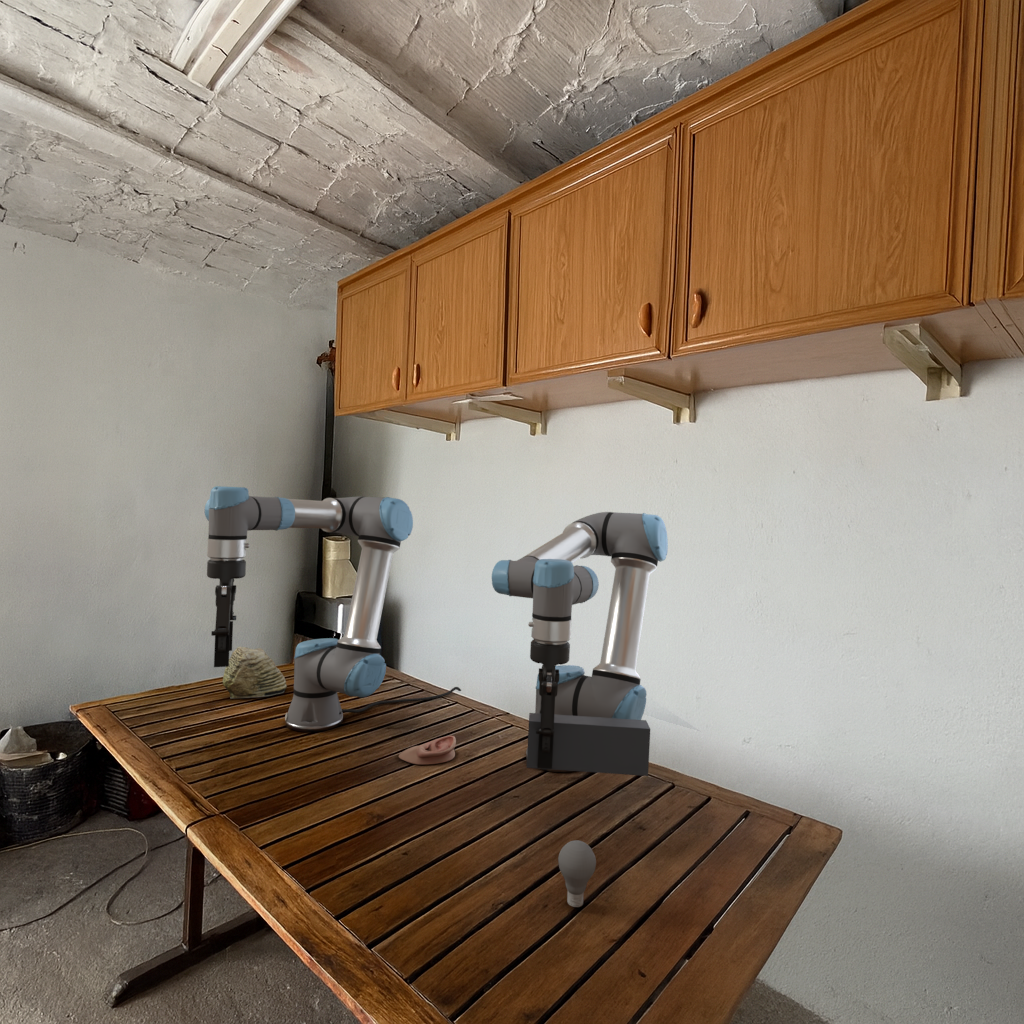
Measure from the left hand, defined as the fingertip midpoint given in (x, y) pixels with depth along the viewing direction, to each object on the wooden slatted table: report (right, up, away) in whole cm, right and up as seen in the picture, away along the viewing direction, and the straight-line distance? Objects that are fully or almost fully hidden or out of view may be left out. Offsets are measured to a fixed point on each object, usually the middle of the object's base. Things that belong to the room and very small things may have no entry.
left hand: (223, 658), depth 135 cm
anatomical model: (+41, -29, +22) cm, 55 cm away
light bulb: (+72, -32, -34) cm, 85 cm away
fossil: (-19, -26, +63) cm, 71 cm away
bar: (+76, -18, -14) cm, 79 cm away
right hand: (+68, -17, -14) cm, 71 cm away
